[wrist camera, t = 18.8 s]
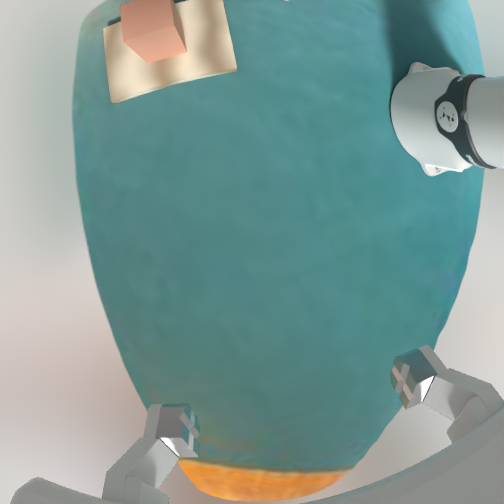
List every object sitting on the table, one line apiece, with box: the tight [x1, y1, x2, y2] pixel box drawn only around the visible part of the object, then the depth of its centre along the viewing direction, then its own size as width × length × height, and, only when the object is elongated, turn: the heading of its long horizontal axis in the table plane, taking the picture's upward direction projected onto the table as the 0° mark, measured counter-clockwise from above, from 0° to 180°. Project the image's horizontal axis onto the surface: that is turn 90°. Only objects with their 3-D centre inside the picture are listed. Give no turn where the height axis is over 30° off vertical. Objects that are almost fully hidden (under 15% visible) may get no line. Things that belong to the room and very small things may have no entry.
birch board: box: [103, 0, 237, 103], centre depth 25 cm, size 16×12×2 cm
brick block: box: [120, 0, 187, 63], centre depth 20 cm, size 5×5×9 cm
